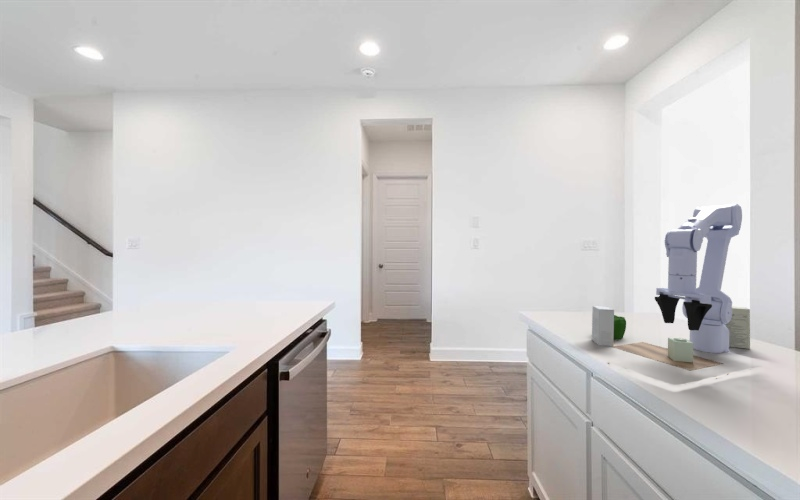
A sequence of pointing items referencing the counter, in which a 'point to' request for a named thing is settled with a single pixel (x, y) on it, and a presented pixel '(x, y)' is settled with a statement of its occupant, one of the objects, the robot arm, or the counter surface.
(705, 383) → the counter surface
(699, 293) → the robot arm
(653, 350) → the board
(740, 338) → the skincare box
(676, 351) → the sage cube with dome
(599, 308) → the skincare box
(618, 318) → the bell pepper
